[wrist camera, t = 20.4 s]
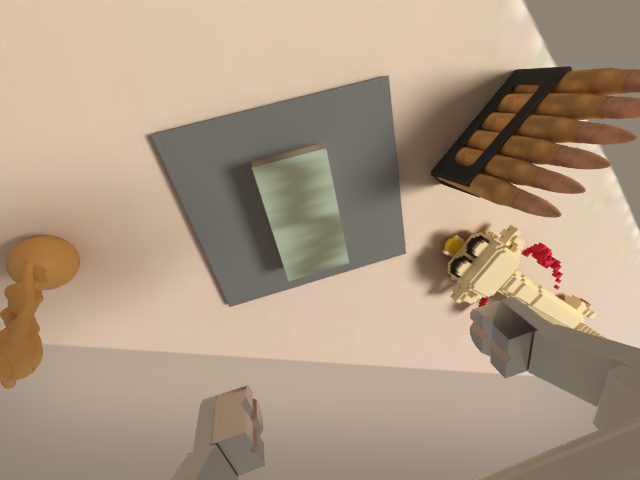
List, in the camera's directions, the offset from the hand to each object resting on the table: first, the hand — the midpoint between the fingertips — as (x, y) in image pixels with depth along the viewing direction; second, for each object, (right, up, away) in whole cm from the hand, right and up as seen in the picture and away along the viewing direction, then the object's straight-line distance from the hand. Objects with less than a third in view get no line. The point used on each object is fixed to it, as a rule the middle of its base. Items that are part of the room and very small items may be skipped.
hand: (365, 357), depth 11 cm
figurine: (-21, +3, +14) cm, 26 cm away
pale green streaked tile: (-2, +2, +17) cm, 17 cm away
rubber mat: (-3, +7, +16) cm, 18 cm away
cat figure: (+21, -1, +26) cm, 33 cm away
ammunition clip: (+12, +14, +17) cm, 25 cm away
